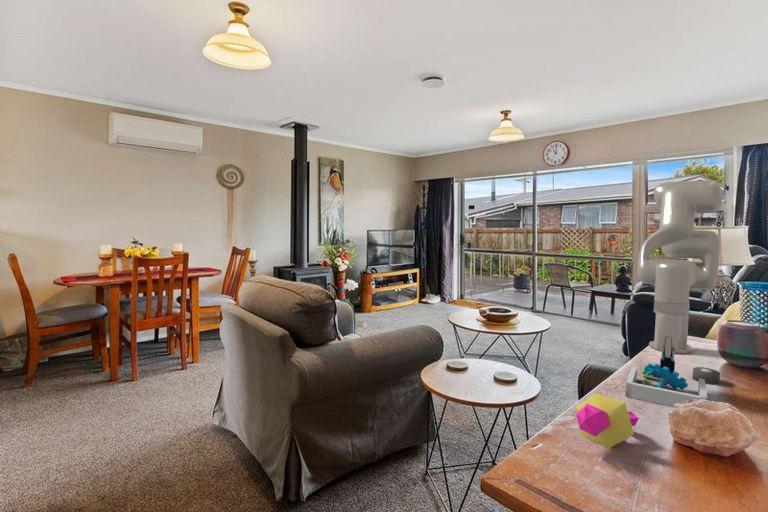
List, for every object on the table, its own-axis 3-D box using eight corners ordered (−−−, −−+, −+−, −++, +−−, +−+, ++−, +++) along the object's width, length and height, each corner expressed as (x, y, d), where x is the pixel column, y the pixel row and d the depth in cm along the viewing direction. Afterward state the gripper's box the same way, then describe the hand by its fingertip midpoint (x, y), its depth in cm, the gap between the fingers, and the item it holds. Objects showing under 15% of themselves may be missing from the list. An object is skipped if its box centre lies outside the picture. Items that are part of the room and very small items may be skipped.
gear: (696, 389, 104) (676, 365, 102) (687, 408, 103) (666, 384, 101) (655, 379, 115) (635, 357, 113) (646, 396, 113) (625, 374, 111)
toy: (654, 445, 82) (639, 392, 87) (620, 449, 71) (604, 388, 76) (604, 446, 89) (592, 397, 94) (565, 450, 78) (553, 394, 82)
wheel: (692, 374, 119) (693, 365, 119) (718, 379, 116) (719, 369, 115) (692, 381, 114) (693, 370, 114) (720, 386, 111) (720, 375, 111)
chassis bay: (631, 378, 116) (632, 366, 116) (703, 392, 107) (704, 379, 106) (625, 396, 104) (626, 383, 104) (706, 413, 94) (707, 399, 94)
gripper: (655, 302, 116) (652, 363, 118) (652, 311, 104) (648, 379, 106) (687, 305, 112) (683, 369, 113) (688, 315, 100) (684, 386, 101)
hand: (666, 374), depth 110 cm, fingers closed
